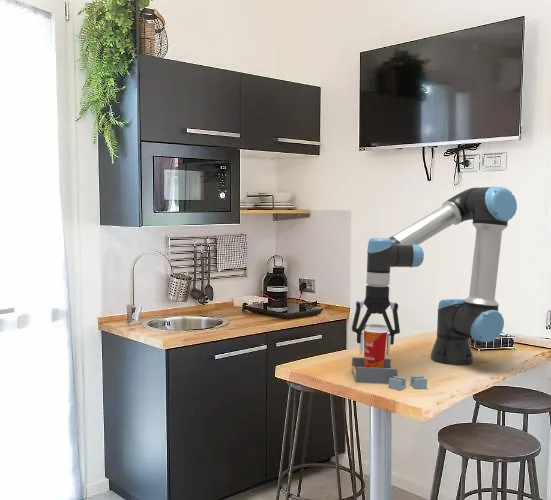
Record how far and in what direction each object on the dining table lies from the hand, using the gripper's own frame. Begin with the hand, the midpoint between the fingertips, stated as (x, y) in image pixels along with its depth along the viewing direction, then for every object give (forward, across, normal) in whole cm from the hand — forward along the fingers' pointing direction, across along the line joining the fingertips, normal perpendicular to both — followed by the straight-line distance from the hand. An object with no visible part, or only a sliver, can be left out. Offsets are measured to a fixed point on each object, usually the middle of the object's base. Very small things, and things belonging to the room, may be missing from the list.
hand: (374, 353), depth 199 cm
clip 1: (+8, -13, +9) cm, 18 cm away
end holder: (+8, 0, 0) cm, 8 cm away
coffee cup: (+6, 0, 0) cm, 6 cm away
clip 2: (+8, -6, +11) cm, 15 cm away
